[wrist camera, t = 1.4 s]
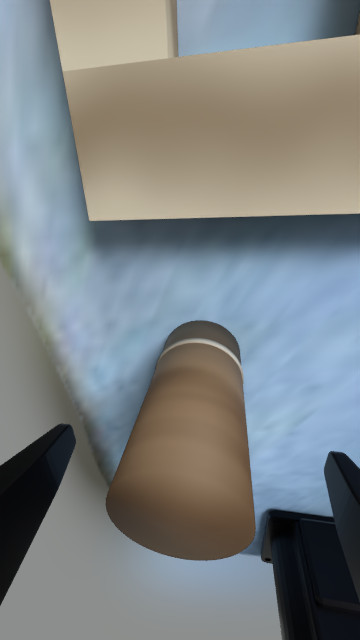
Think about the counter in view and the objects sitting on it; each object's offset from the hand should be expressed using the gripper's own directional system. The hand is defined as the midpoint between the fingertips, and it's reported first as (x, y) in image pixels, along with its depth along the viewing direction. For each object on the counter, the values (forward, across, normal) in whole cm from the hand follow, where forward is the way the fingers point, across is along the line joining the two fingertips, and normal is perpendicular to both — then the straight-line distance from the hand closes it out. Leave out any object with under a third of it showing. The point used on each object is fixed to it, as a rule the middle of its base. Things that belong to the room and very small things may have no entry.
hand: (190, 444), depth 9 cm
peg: (+6, 0, 0) cm, 6 cm away
